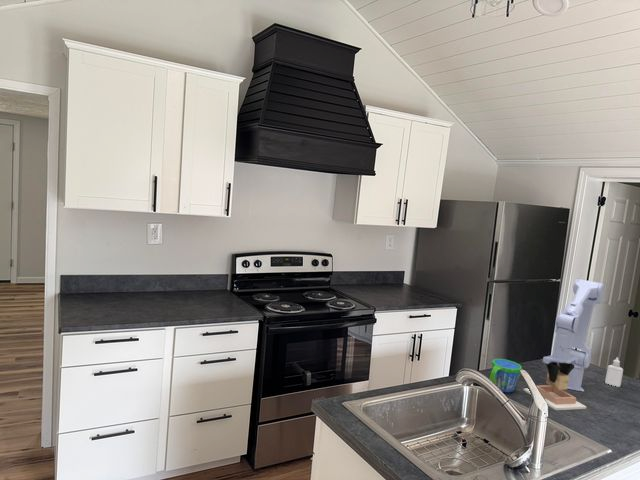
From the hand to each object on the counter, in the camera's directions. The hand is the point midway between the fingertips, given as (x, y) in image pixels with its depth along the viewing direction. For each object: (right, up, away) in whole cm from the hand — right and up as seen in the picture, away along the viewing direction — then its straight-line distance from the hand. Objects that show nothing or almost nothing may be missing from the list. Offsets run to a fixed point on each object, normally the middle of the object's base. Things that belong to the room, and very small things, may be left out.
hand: (556, 381), depth 171 cm
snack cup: (-18, -5, +5) cm, 19 cm away
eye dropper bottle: (+36, -9, +24) cm, 44 cm away
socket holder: (-1, -7, +1) cm, 7 cm away
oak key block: (0, -2, 0) cm, 2 cm away
